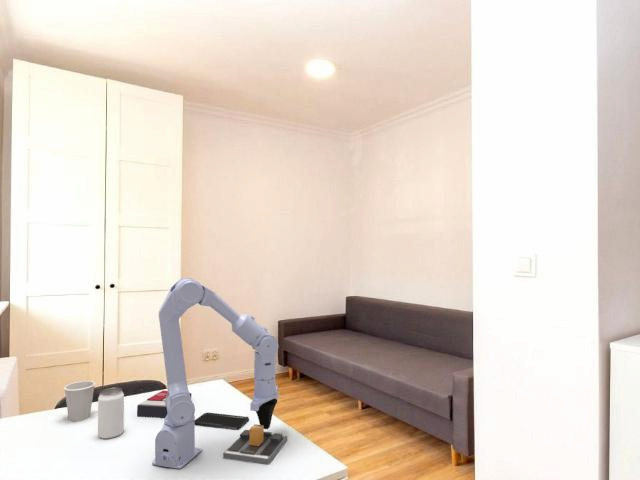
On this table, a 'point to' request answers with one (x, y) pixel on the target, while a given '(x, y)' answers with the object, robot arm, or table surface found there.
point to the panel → (255, 448)
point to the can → (110, 413)
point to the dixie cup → (79, 400)
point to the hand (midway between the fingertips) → (265, 427)
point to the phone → (221, 421)
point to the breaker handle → (256, 434)
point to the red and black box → (154, 406)
